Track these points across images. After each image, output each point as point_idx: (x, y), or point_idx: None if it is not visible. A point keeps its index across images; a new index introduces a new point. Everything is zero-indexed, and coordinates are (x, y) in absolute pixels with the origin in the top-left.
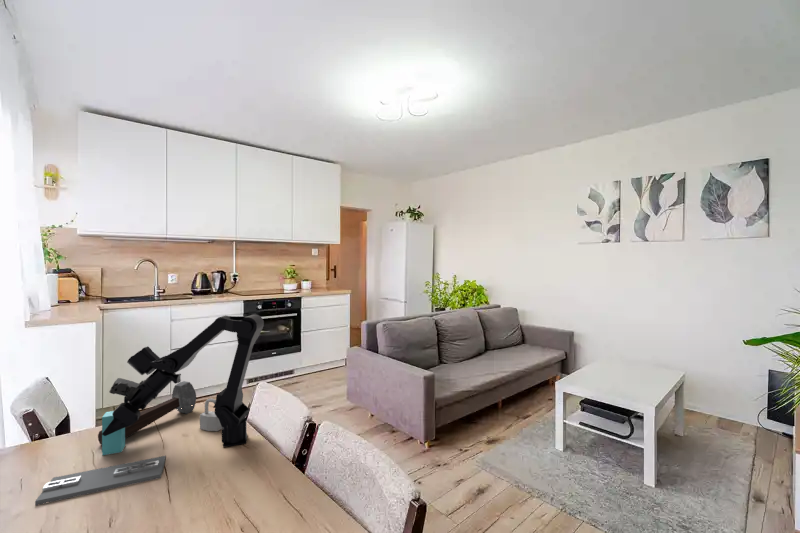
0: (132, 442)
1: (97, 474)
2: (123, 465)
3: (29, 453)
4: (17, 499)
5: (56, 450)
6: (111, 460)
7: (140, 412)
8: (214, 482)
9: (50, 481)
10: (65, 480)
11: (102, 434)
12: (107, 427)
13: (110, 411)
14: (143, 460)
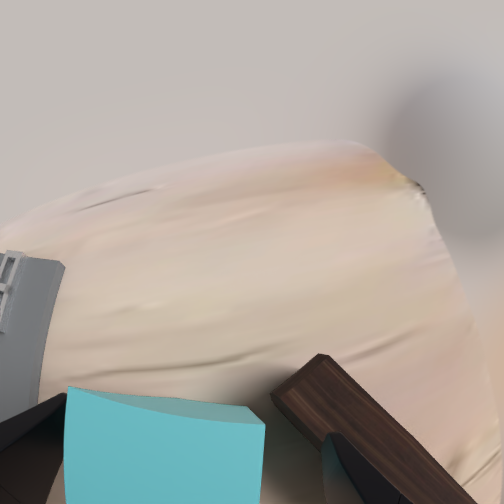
0: (265, 498)
1: (3, 374)
2: None
3: (329, 170)
4: (42, 217)
5: (325, 224)
6: None
7: (459, 496)
8: None
9: (43, 259)
10: (4, 294)
11: (65, 394)
12: (16, 417)
13: (259, 473)
14: None
